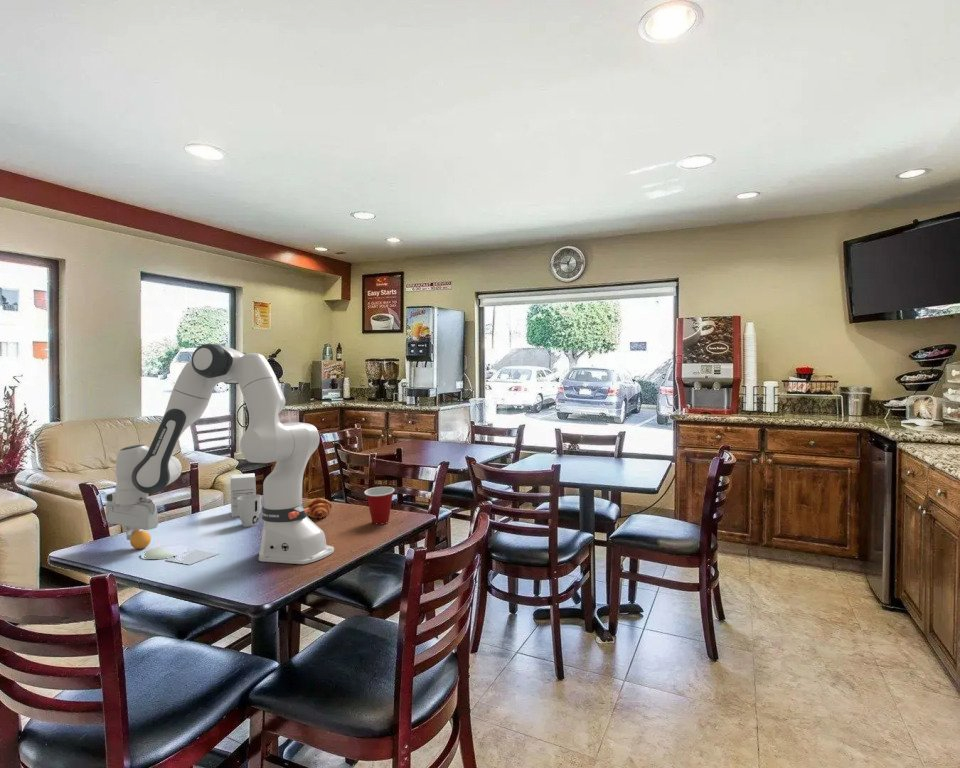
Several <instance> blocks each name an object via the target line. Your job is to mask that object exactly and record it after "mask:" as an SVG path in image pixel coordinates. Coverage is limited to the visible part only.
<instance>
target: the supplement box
mask: <svg viewBox="0 0 960 768" xmlns="http://www.w3.org/2000/svg"><path fill="white" fill-rule="evenodd" d="M255 475H256V474H255V473H254V472H253V473H241V474H240V473H237V474H231V475H230V505H231V506H230V513H231V518H237V517H238V516H239V511H238V501H237V498H238V497H241V496H245V495H257V490H256V487H257V486H256V485H257V484H256V476H255ZM239 517H240V516H239Z"/></svg>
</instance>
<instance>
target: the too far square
mask: <svg viewBox="0 0 960 768" xmlns="http://www.w3.org/2000/svg"><path fill="white" fill-rule="evenodd" d="M187 552H188V553H189V552H190V553H189V554H188V555H186V557H185V556H184V557H183V556H182V558H183V559H184V560H183V559H182V558H181V557H180V558H181V559H182V561H180V560H178V559H177V558H176V557H177V556H175V558H174V557H171V558H166V560H167V561H166V562H169V561H173V562H172V563H175V562H177V561H178V562H179V563H178V564H180V563H183V564H182V565H185V564H188V565H187V566H191V565H194V564H197V563H199V562H202V561H204V560H208V559H210V558H212V557H215V556H218V555H219V553H217V552H211V551H204V550H199V549H193V550H191V551H187ZM187 552H186V554H187ZM184 554H185V553H184ZM178 558H179V557H178ZM175 559H176V560H177V561H176V560H175ZM201 560H202V561H201ZM196 562H197V563H196ZM193 563H194V564H193ZM190 564H191V565H190Z"/></svg>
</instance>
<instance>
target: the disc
mask: <svg viewBox="0 0 960 768" xmlns="http://www.w3.org/2000/svg"><path fill="white" fill-rule="evenodd" d="M162 547H163V546H159V547H155V548H151V549H148V550H146V551H144V553H145V552H146V553H145V554H144V555H145V556H146V557H145V556H144V558H145V559H159V560H165V559H164V558H166V559H168V558H167V557H171V558H173V556H175V555H174V553H175V552H174V553H172V552H173V551H172V552H171V550H170V553H169V552H168V551H169V550H168V551H167V550H165V549H164V550H163V548H162ZM184 550H185V549H184ZM165 551H166V552H165ZM186 551H187V550H186ZM186 551H185V552H186ZM167 552H168V553H167ZM187 552H188V551H187ZM187 552H186V553H187ZM172 554H173V555H172ZM175 554H176V553H175ZM178 555H179V554H178ZM176 556H177V555H176ZM176 556H175V557H176ZM145 559H144V560H145Z"/></svg>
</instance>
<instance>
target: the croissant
mask: <svg viewBox="0 0 960 768" xmlns="http://www.w3.org/2000/svg"><path fill="white" fill-rule="evenodd" d="M304 504H305V505H304V507H305V509H306V508H309V509H308V510H310V511H308V510H307V511H308V512H306V513H307V517H309V516H310V517H309V518H313V519H317V518H319V519H323V518H326V517H327V516H328V515H329V514H330V512H331V509H332V507H333V506H332V503H331V502H330V501H329V500H328V499H325V498H321V497H317V498H316V497H315V498H312V499H309V500H308V501H307V502H306V503H304ZM325 516H326V517H325ZM322 517H323V518H322Z"/></svg>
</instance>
